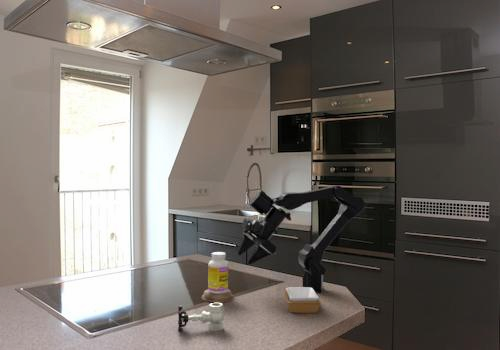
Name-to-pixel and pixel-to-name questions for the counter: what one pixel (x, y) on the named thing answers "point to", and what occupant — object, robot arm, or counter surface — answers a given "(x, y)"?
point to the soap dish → (302, 299)
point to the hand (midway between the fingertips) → (243, 259)
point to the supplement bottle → (218, 273)
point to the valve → (204, 317)
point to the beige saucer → (217, 297)
